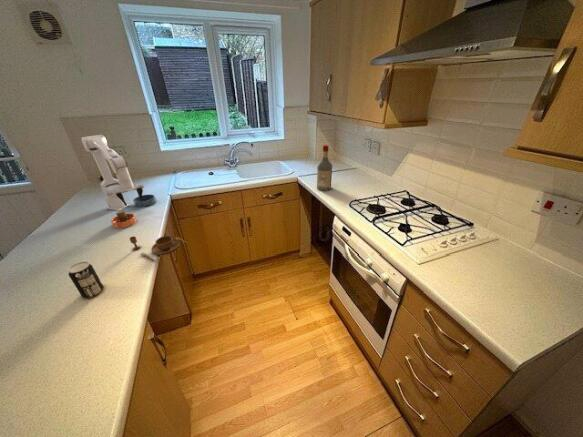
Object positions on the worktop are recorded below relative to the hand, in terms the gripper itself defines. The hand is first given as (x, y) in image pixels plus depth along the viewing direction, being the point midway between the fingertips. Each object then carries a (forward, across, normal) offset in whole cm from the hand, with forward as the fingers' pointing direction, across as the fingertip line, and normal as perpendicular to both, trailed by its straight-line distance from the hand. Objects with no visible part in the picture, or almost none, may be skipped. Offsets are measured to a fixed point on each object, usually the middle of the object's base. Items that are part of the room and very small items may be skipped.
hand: (133, 203), depth 133 cm
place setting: (+10, 0, -39) cm, 40 cm away
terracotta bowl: (+10, -8, -2) cm, 12 cm away
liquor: (+10, +109, -46) cm, 118 cm away
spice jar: (+9, -8, -2) cm, 12 cm away
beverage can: (+10, -27, -52) cm, 60 cm away
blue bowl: (+10, +8, +20) cm, 24 cm away
